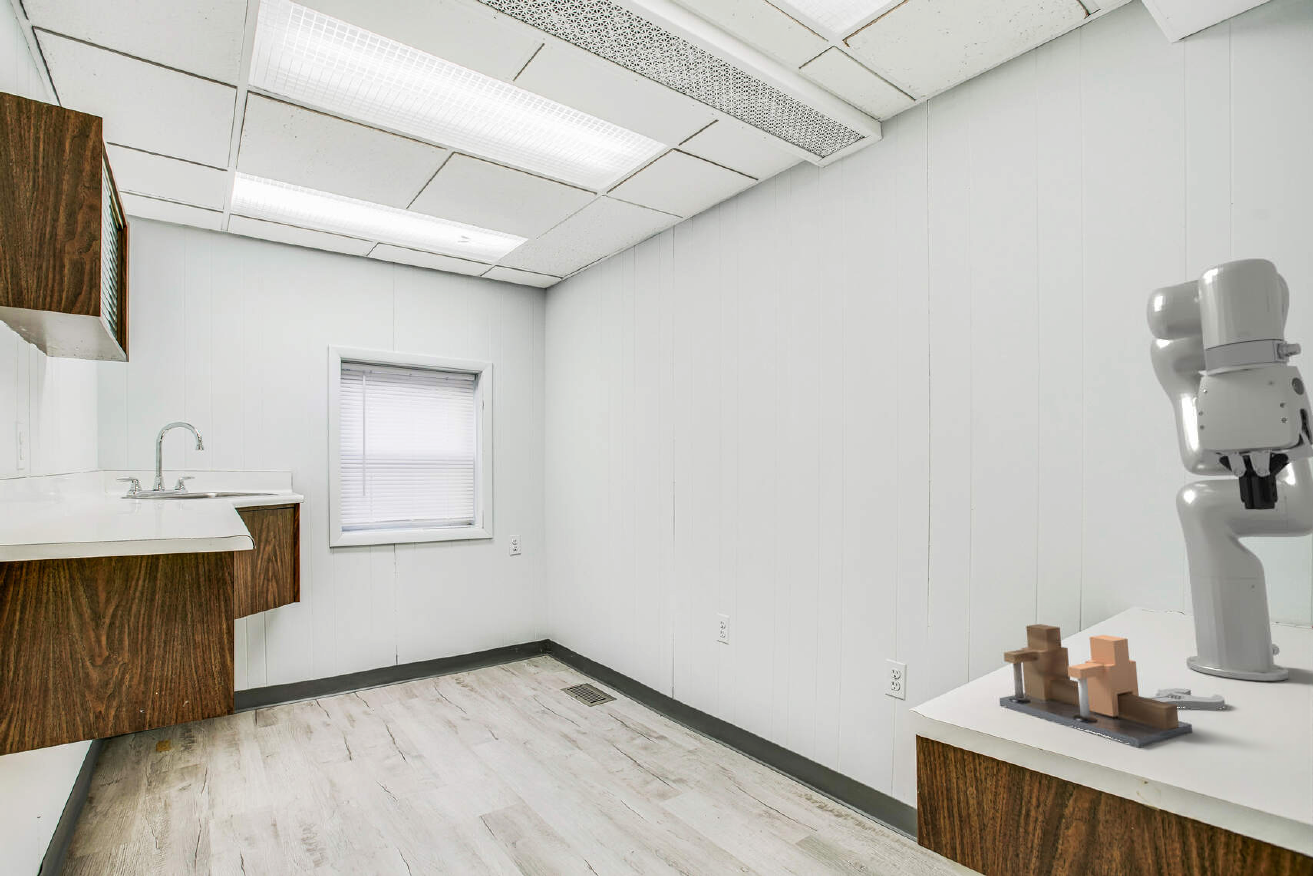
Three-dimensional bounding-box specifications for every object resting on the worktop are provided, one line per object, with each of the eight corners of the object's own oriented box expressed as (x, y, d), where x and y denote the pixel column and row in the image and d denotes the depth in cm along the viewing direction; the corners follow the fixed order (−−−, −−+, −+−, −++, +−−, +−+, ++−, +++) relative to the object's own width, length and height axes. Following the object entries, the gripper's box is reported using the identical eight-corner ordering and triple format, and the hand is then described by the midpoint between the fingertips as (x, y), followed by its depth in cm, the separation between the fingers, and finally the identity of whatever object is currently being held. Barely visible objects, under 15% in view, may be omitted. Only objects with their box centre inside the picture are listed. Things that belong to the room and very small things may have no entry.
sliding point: (1115, 703, 87) (1109, 633, 88) (1139, 710, 85) (1133, 637, 86) (1066, 715, 83) (1060, 641, 84) (1089, 722, 80) (1083, 645, 81)
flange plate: (1051, 695, 96) (1050, 687, 96) (1192, 732, 80) (1191, 723, 80) (999, 705, 92) (999, 697, 92) (1138, 747, 75) (1137, 738, 76)
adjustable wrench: (1073, 726, 85) (1072, 712, 85) (1037, 710, 91) (1036, 697, 91) (1235, 712, 89) (1234, 698, 89) (1189, 697, 95) (1188, 685, 95)
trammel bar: (1049, 688, 96) (1044, 623, 97) (1186, 724, 80) (1178, 645, 81) (1001, 698, 92) (996, 629, 93) (1135, 738, 76) (1128, 654, 77)
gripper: (1341, 350, 76) (1359, 508, 74) (1193, 373, 89) (1206, 507, 88) (1307, 346, 73) (1326, 511, 71) (1160, 370, 86) (1173, 509, 85)
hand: (1260, 508), depth 80 cm, fingers closed
